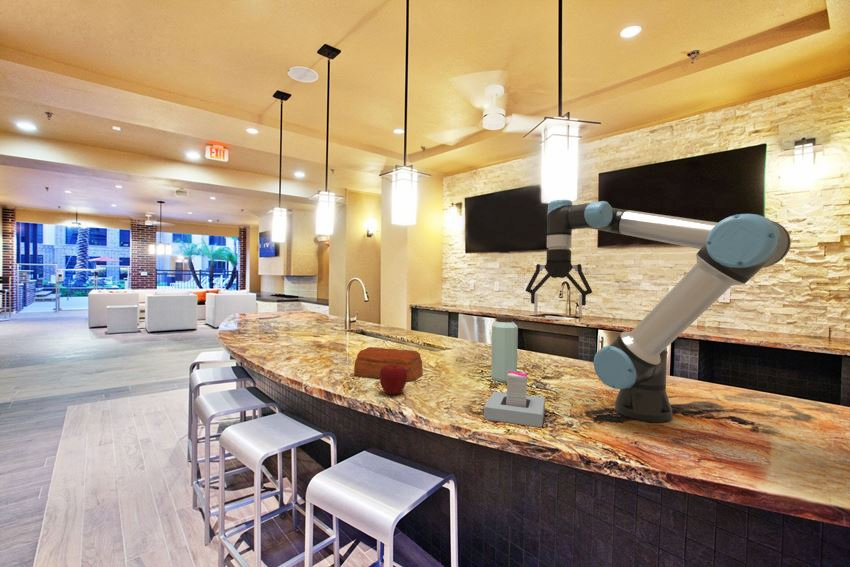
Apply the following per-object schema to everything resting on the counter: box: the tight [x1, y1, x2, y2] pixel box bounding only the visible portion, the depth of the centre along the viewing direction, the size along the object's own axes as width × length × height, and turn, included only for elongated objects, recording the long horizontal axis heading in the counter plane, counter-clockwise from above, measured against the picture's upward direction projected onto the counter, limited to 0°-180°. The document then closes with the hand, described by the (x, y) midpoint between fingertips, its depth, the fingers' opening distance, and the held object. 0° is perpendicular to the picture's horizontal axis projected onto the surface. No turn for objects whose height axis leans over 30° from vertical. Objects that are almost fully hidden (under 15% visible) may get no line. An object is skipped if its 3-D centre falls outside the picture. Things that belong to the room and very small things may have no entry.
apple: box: [379, 364, 408, 396], centre depth 133 cm, size 10×10×10 cm
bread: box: [353, 346, 423, 383], centre depth 158 cm, size 16×27×11 cm, turn 71°
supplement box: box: [506, 371, 528, 408], centre depth 115 cm, size 6×6×12 cm
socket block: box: [483, 391, 546, 428], centre depth 115 cm, size 16×16×4 cm
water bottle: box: [490, 315, 519, 383], centre depth 153 cm, size 10×10×25 cm
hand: (557, 314), depth 125 cm, fingers open, 13 cm apart
